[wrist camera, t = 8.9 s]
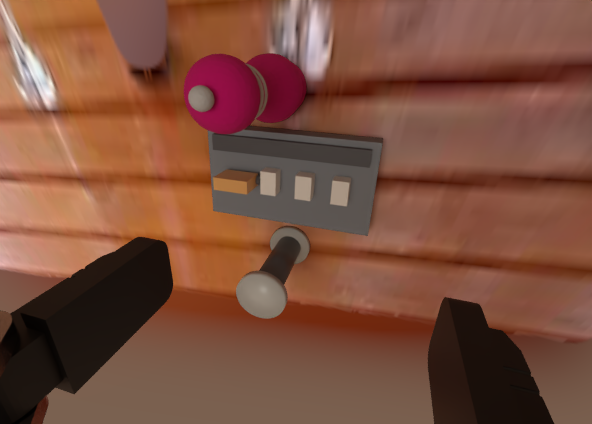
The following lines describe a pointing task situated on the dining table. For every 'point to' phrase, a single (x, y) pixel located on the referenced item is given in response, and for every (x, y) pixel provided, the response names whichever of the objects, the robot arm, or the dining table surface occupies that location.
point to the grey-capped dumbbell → (273, 274)
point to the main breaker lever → (236, 181)
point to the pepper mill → (242, 91)
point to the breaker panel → (289, 171)
